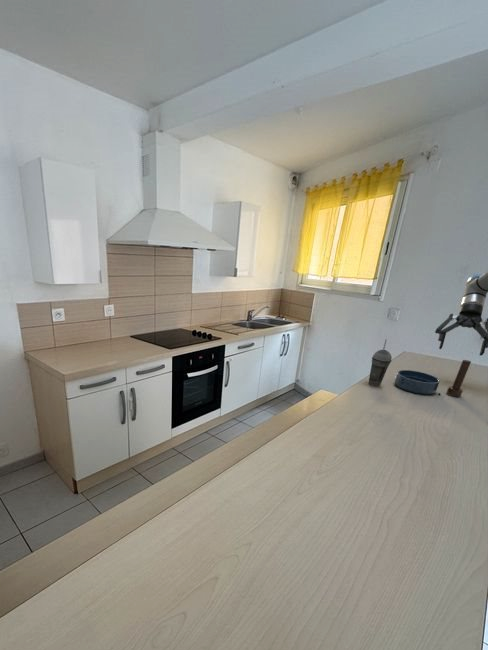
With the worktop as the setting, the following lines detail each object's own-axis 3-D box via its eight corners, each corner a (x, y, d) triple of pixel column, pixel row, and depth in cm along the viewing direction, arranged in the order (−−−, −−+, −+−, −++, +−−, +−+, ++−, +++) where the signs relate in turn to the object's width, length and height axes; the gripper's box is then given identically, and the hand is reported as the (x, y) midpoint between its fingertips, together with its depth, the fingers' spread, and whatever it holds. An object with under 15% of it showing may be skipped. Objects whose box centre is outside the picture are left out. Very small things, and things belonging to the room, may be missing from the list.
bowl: (438, 389, 139) (443, 377, 137) (431, 398, 129) (436, 386, 127) (399, 378, 149) (402, 367, 147) (389, 386, 139) (393, 375, 137)
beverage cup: (368, 386, 138) (381, 341, 130) (362, 380, 145) (374, 337, 137) (386, 388, 137) (400, 342, 129) (379, 382, 144) (393, 338, 136)
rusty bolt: (461, 395, 134) (475, 361, 128) (459, 398, 131) (473, 363, 125) (447, 391, 137) (460, 358, 131) (445, 394, 134) (458, 360, 128)
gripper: (506, 316, 135) (496, 360, 131) (434, 308, 148) (423, 349, 143) (514, 306, 129) (504, 352, 124) (438, 299, 142) (426, 340, 137)
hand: (460, 350), depth 134 cm, fingers open, 13 cm apart
